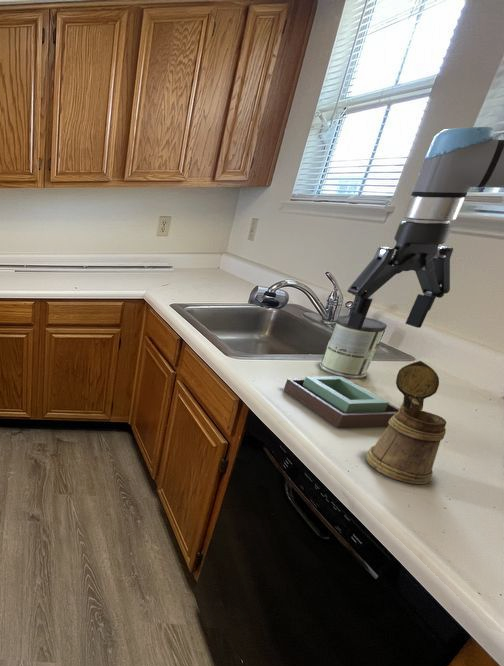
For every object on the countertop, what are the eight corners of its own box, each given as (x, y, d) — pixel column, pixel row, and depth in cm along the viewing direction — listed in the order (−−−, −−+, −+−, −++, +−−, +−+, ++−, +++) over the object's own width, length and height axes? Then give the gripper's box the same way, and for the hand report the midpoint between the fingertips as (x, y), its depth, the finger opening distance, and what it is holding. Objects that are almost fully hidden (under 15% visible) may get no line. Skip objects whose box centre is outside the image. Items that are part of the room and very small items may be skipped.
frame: (381, 418, 91) (389, 402, 89) (342, 419, 90) (349, 403, 88) (334, 390, 102) (340, 375, 100) (300, 391, 102) (305, 376, 100)
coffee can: (316, 360, 121) (333, 313, 114) (359, 366, 117) (379, 318, 111) (323, 373, 112) (342, 324, 106) (370, 381, 108) (393, 330, 102)
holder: (401, 425, 89) (407, 413, 88) (337, 427, 88) (342, 415, 87) (338, 388, 104) (343, 377, 103) (283, 390, 103) (287, 378, 102)
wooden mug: (408, 447, 82) (452, 364, 74) (438, 490, 71) (494, 398, 63) (353, 436, 85) (389, 356, 77) (374, 475, 74) (419, 386, 66)
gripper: (465, 218, 84) (420, 319, 93) (349, 219, 82) (315, 322, 91) (508, 222, 77) (455, 330, 86) (384, 223, 75) (343, 334, 85)
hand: (383, 326), depth 89 cm, fingers open, 13 cm apart
